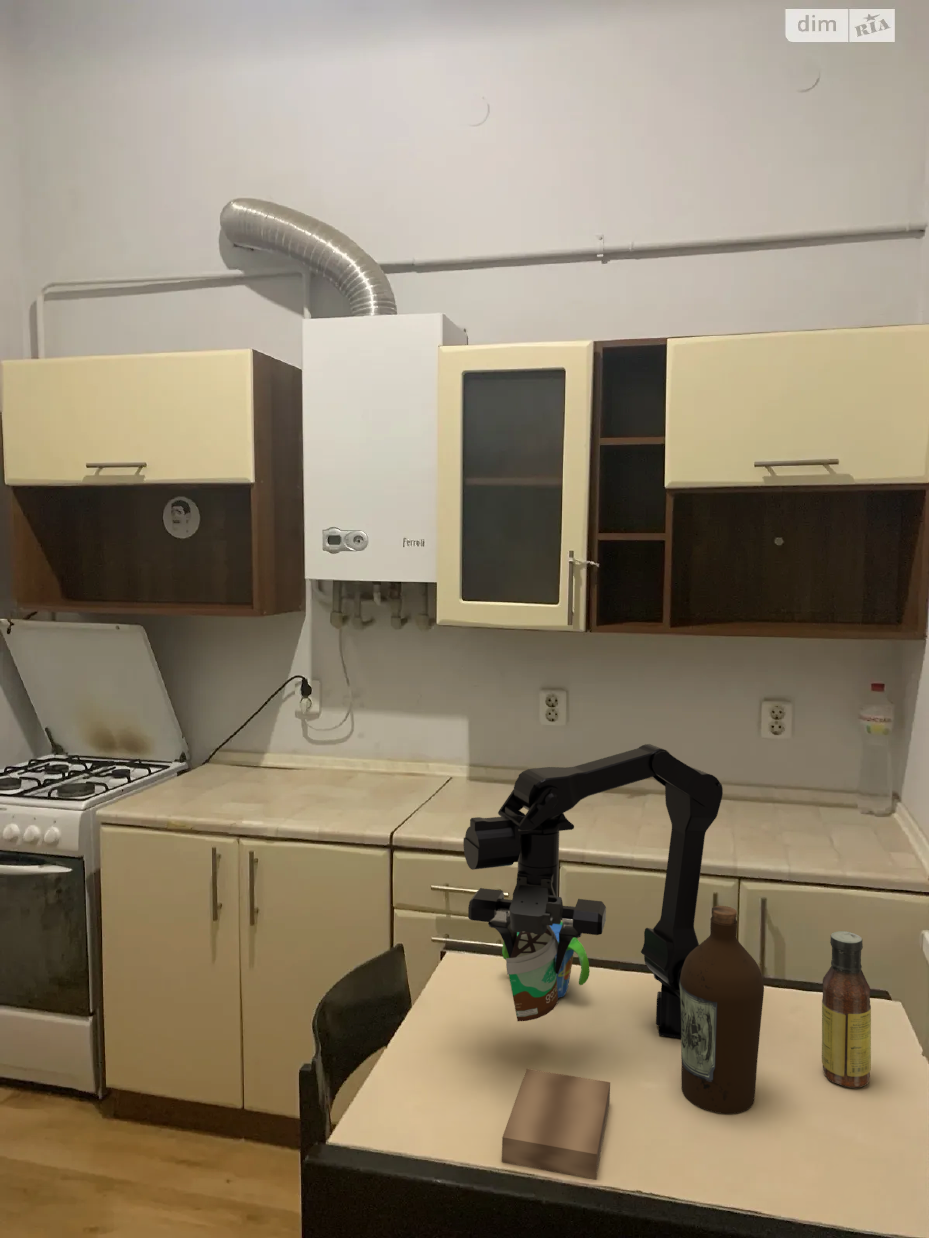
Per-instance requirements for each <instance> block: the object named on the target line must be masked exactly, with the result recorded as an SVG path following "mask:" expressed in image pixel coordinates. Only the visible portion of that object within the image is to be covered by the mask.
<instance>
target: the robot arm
mask: <svg viewBox="0 0 929 1238" xmlns="http://www.w3.org/2000/svg"><path fill="white" fill-rule="evenodd" d="M650 778H652V779H653V780H654V781H656V782H658V783H659V784H660V785H662V786H663V787H664V793H665V806H666V810H667V813H668V816H669V820H670V823H671V830H670V831H671V832H670V841H669V848H668V856H667V863H666V872H665V880H664V887H663V888H664V889H663V898H662V904H661V905H662V906H661V912H660V913H661V914H660V918H659V921H658V922H657V923H656V924H655V926H654V927H652V928H650V927H645V929H644V931H643V935H644V936H643V937H644V938H643V939H644V940H643V942H644V943H643V946H642V948H641V951H640V953H641V954H642V955H643V956H644V957H643V958H644V964H645V965H646V967H647V968H648V969H649V970H650V971H651V972H652V975H653V977H654V979H655V980H656V981H658V982H659V983H661V986H660V987H661V988H660V991H657V993H656V1007H655V1008H656V1009H655V1024H656V1026H658V1035H659V1036H663V1037H668V1038H669V1037H670V1038H676V1039H681V1000H680V975H681V970H682V967H683V964H684V961H685V959H686V957H687V956H688V955H689V953H690V952H691V951H692V950H694V949H695V948H696V947H697V946H698V945H700V943H699V939H698V936H697V933H696V930H695V921H696V920H695V919H696V918H695V917H696V912H697V911H696V910H697V903H698V902H697V901H698V896H699V895H698V893H699V889H700V888H699V887H700V878H701V871H702V863H703V854H704V847H705V837H706V833H707V831H708V829H709V828H710V826H711V825H712V824H713V822H714V821H715V820H716V819H717V816H718V814H719V810H720V807H721V803H722V800H723V795H724V787H723V784H722V783H721V782H720V780H719V779H718V778H717V777H716V776H715V775H713V774H711V773H708V772H706V771H704V770H703V771H702V770H700V769H698V768H695V767H692V766H689V765H687V763H684V762H682V761H681V760H679V759H678V758H676V757H675V756H673V755H672V754H671V753H670V752H669V751H668V750H667V749H664V748H663V747H662V748H661V747H659V746H656V745H653V744H650V743H648V744H646V743H645V744H643V745H641V746H639V747H637V748H634V749H631V750H627V751H624V752H621V753H616V754H613V755H609V756H606V757H603V758H599V759H595V760H593V761H588V762H586V763H581V764H578V765H575V766H574V765H573V766H569V767H568V766H567V767H564V766H563V767H561V766H547V767H545V766H544V767H535V768H528V769H526V770H524V771H521V773H519V774H518V777H517V779H516V781H515V782H514V785H513V789H512V791H511V792H510V793H509V795H508V797H507V798H506V800H505V801H504V802H503V804H502V806H501V807H500V809H499V810H498V812H497V814H498V816H493V817H481V816H480V817H478V816H477V817H471V818H470V820H469V821H470V822H469V826H468V827H467V829H466V831H465V835H464V837H463V840H462V841H463V842H462V843H463V853H464V858H465V859H464V860H465V862H466V864H467V866H468V867H469V869H470V870H473V871H474V870H482V869H492V868H500V867H501V868H502V867H510V866H513V865H514V863H517V875H516V884H515V887H514V889H513V892H512V899H508V898H507V899H506V898H505V893H504V890H502V889H501V890H500V889H492V888H491V889H490V888H485V887H484V888H482V887H480V888H479V889H478V890H477V891H476V892H475V893H474V895H473V896H472V897H471V898H470V900H469V902H468V913H467V917H468V919H469V920H470V921H475V922H483V923H488V927H489V928H493V929H495V930H496V931H497V932H498V933H499V935H500V936H501V939H502V940H503V942H504V943H505V946H506V949H507V952H508V955H509V958H510V957H511V954H512V951H513V947H514V943H515V940H516V938H517V932H521V931H522V932H530V933H534V934H537V935H540V934H543V933H545V932H546V929H547V925H550V926H552V925H553V924H560V923H561V922H562V924H563V925H562V927H561V930H560V932H559V943H558V950H557V957H556V964H555V973H556V974H558V973H559V971H560V968H561V965H562V962H563V959H564V956H565V953H566V950H567V948H568V946H569V944H570V942H571V940H572V939H573V938H581V937H582V934H585V935H592V936H593V935H595V936H599V935H602V934H603V932H604V927H605V924H606V921H607V919H606V918H607V907H606V905H605V903H604V902H603V901H602V900H592V899H586V898H585V899H582V898H578V899H577V902H576V904H575V906H573V905H564V904H563V899H562V897H561V896H559V871H560V870H559V866H560V863H559V861H560V859H559V858H560V832H562V831H570V830H571V831H572V830H574V829H575V824H573V822H571V821H569V819H568V818H567V816H565V814H564V813H566V812H568V811H570V810H572V809H573V808H574V807H575V806H577V804H578V803H579V802H581V800H584V799H585V798H588V797H590V796H594V795H597V794H600V793H603V792H606V791H607V792H608V791H610V790H613V789H616V788H617V789H618V788H619V787H623V786H627V785H630V784H633V783H637V782H640V781H644V780H647V779H650ZM522 809H526V810H527V812H526V813H524V812H522V811H521V810H522Z"/></svg>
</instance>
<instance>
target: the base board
mask: <svg viewBox="0 0 929 1238" xmlns="http://www.w3.org/2000/svg"><path fill="white" fill-rule="evenodd" d="M610 1094H611V1082H610V1081H605V1080H600V1079H599V1080H598V1079H593V1078H587V1077H581V1076H574V1075H568V1074H561V1073H556V1072H550V1071H549V1072H548V1071H542V1070H537V1069H531V1068H526V1070H525V1072H524V1074H523V1078H522V1081H521V1084H520V1085H519V1090H518V1092H517V1094H516V1098H515V1100H514V1103H513V1106H512V1109H511V1112H510V1115H509V1117H508V1121H507V1123H506V1126H505V1129H504V1132H503V1134H502V1137H501V1138H502V1139H501V1146H502V1147H501V1162H502V1163H505V1164H511V1165H517V1166H522V1167H528V1168H534V1169H538V1170H543V1171H544V1170H545V1171H549V1172H555V1173H560V1174H564V1175H571V1176H575V1177H581V1178H587V1179H592V1180H597V1178H598V1173H599V1172H598V1171H599V1165H600V1160H601V1153H602V1149H603V1143H604V1138H605V1131H606V1128H607V1122H608V1115H609V1109H610V1099H611V1097H610V1096H611V1095H610Z"/></svg>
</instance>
